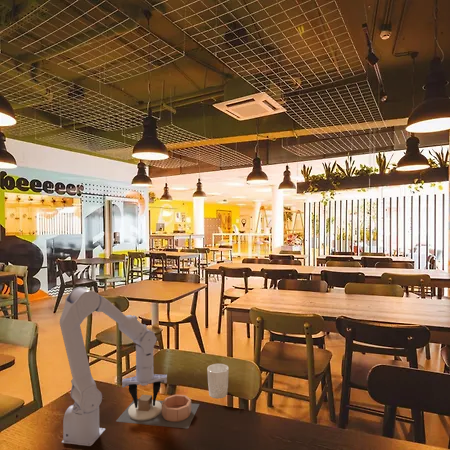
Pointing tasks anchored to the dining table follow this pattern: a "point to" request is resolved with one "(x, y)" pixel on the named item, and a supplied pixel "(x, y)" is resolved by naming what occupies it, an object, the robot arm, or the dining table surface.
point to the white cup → (217, 380)
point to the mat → (160, 419)
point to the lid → (145, 409)
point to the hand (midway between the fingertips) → (145, 405)
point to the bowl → (176, 408)
